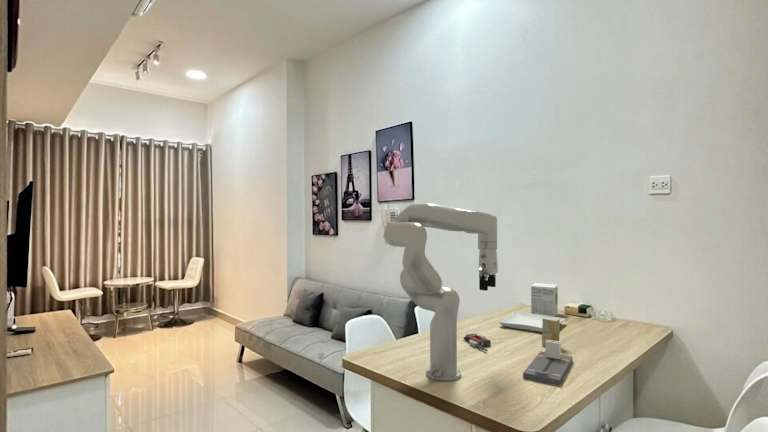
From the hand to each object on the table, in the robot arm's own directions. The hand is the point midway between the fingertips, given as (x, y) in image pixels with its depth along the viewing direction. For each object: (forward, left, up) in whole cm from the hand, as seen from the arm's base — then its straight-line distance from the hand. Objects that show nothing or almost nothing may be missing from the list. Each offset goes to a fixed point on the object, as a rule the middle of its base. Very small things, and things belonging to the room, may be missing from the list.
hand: (487, 288), depth 164 cm
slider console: (+1, -23, -28) cm, 36 cm away
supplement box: (+93, -3, -29) cm, 97 cm away
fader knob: (+9, -23, -26) cm, 36 cm away
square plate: (+63, -3, -29) cm, 69 cm away
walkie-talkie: (+15, +9, -29) cm, 34 cm away
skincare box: (+31, -18, -28) cm, 46 cm away
